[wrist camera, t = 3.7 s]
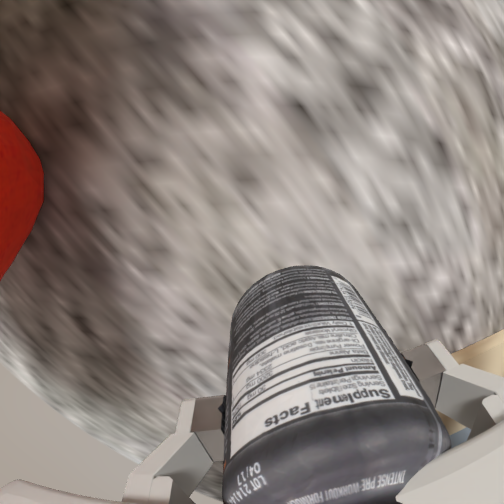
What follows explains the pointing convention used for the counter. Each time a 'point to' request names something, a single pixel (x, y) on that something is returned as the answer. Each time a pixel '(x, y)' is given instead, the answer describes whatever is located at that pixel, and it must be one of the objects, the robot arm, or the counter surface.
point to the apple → (17, 190)
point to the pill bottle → (320, 398)
